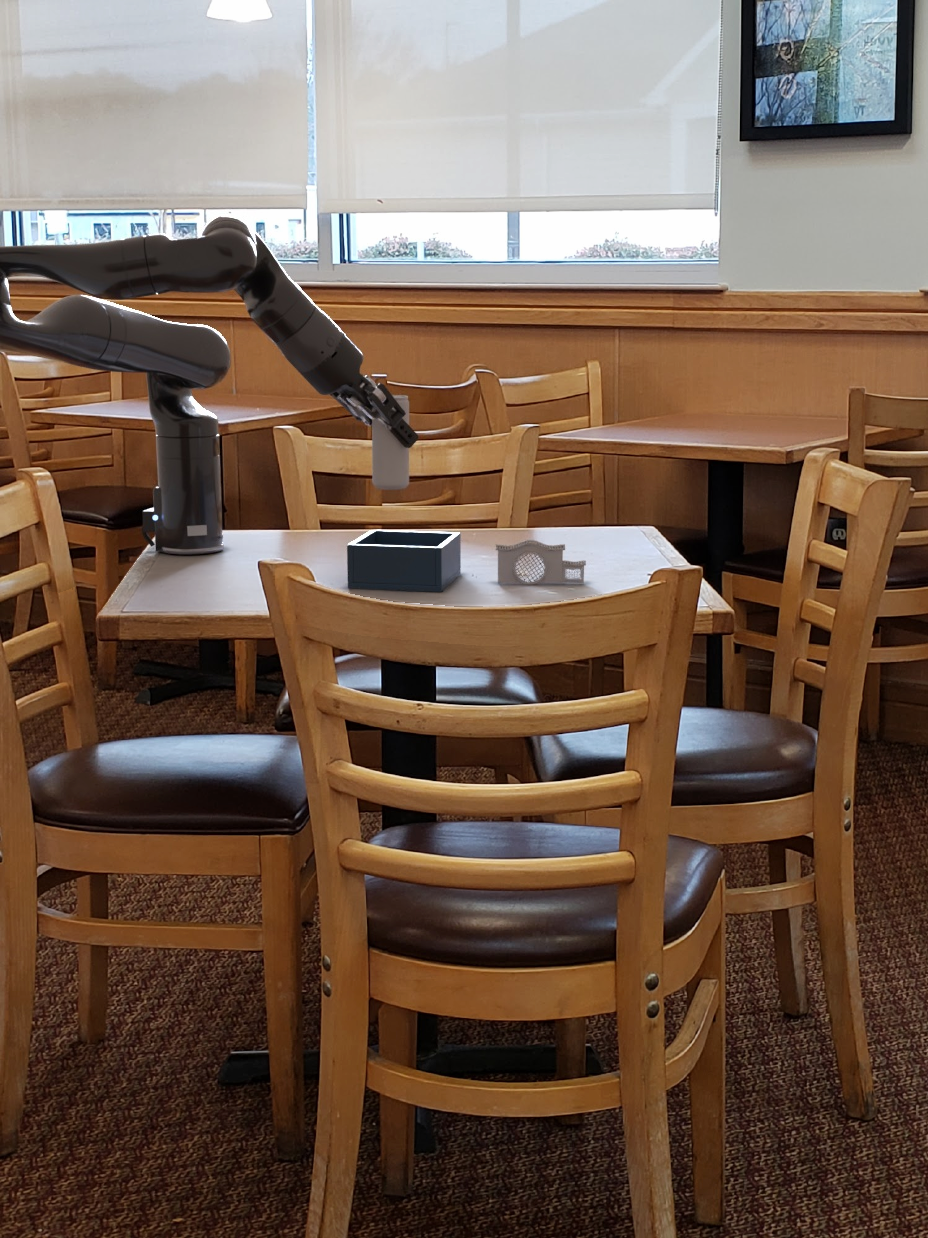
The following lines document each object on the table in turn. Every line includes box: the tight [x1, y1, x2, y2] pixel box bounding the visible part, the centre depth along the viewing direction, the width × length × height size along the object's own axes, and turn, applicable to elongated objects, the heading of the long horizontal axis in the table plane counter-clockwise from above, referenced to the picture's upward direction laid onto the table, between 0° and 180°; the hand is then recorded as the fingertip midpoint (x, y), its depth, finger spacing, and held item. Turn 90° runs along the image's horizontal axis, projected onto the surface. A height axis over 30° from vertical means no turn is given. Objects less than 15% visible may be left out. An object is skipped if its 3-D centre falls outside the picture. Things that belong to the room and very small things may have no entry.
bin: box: [346, 529, 462, 593], centre depth 196 cm, size 13×13×6 cm
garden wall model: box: [495, 539, 587, 586], centre depth 195 cm, size 12×2×6 cm, turn 90°
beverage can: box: [371, 394, 410, 491], centre depth 192 cm, size 5×5×12 cm
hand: (403, 440), depth 193 cm, fingers closed on beverage can, 5 cm apart
